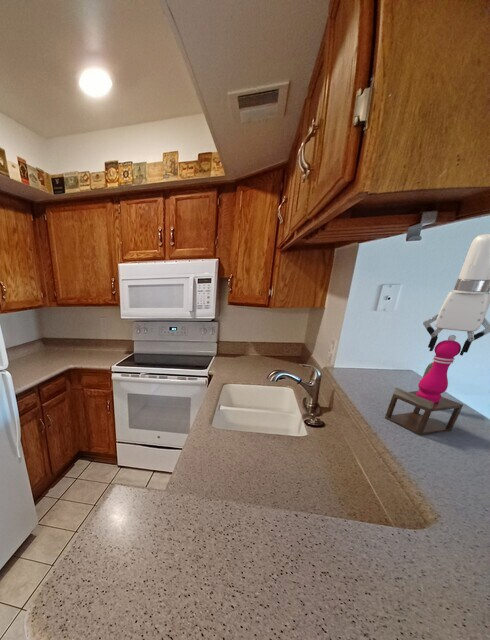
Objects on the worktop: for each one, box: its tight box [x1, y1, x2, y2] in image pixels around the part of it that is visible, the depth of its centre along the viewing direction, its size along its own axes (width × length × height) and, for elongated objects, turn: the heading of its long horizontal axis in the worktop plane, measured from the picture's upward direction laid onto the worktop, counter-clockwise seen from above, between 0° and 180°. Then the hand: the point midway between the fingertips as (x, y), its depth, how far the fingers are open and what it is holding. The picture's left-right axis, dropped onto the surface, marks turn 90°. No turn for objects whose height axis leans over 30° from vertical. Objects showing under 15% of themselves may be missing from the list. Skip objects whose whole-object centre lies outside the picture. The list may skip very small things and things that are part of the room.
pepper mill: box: [416, 334, 462, 403], centre depth 100 cm, size 7×7×20 cm
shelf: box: [384, 387, 464, 436], centre depth 106 cm, size 13×13×11 cm
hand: (446, 352), depth 97 cm, fingers open, 6 cm apart
